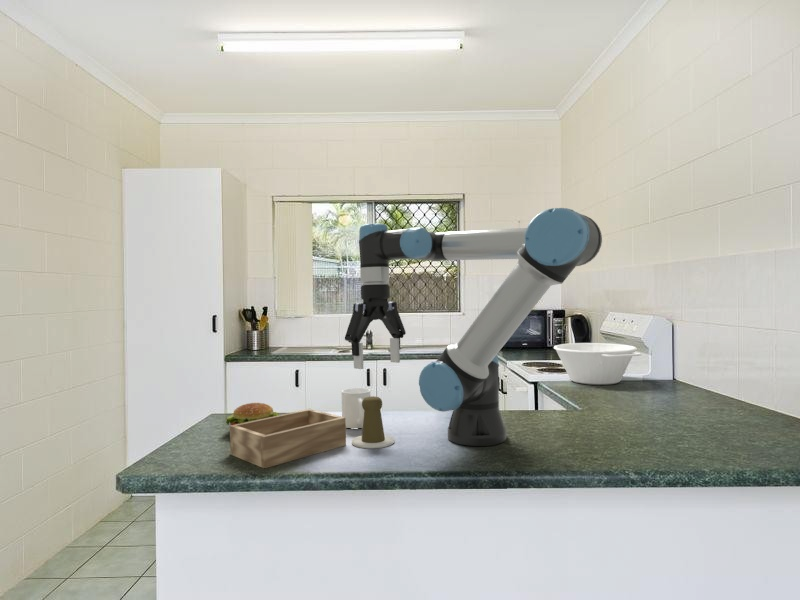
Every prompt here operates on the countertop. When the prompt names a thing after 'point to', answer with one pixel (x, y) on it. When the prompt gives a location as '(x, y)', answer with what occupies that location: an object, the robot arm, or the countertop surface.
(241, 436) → the access box
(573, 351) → the pot
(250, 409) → the food
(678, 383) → the countertop surface
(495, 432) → the robot arm
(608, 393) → the countertop surface
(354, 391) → the mug
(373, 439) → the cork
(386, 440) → the coaster
